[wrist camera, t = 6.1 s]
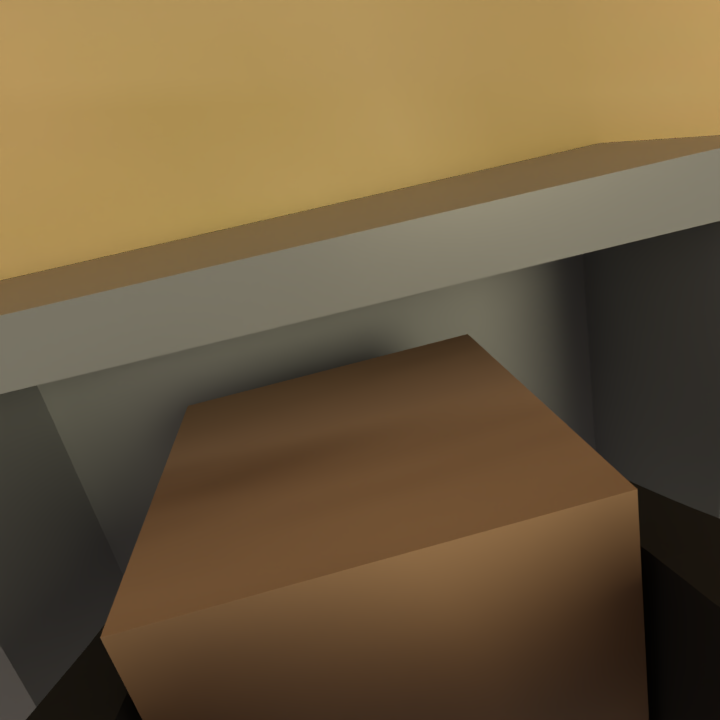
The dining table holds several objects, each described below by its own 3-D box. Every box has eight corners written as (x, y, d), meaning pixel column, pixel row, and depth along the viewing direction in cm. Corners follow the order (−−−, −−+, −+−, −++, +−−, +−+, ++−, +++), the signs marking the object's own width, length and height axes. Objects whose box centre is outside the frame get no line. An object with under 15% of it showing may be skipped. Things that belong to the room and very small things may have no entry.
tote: (630, 709, 19) (747, 890, 14) (217, 829, 18) (195, 1065, 13) (600, 142, 12) (796, 130, 8) (-38, 289, 12) (-253, 374, 7)
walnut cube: (503, 557, 12) (654, 824, 7) (268, 623, 11) (259, 946, 7) (468, 333, 10) (637, 489, 5) (187, 405, 10) (99, 638, 5)
